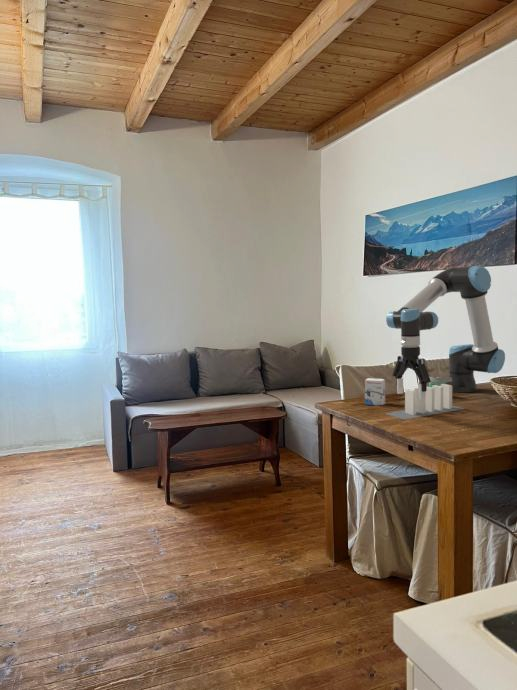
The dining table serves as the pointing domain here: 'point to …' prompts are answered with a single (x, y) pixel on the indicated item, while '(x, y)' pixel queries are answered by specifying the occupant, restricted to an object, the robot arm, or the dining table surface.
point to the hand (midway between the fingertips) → (411, 396)
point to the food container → (439, 381)
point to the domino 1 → (410, 401)
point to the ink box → (374, 391)
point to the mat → (407, 416)
